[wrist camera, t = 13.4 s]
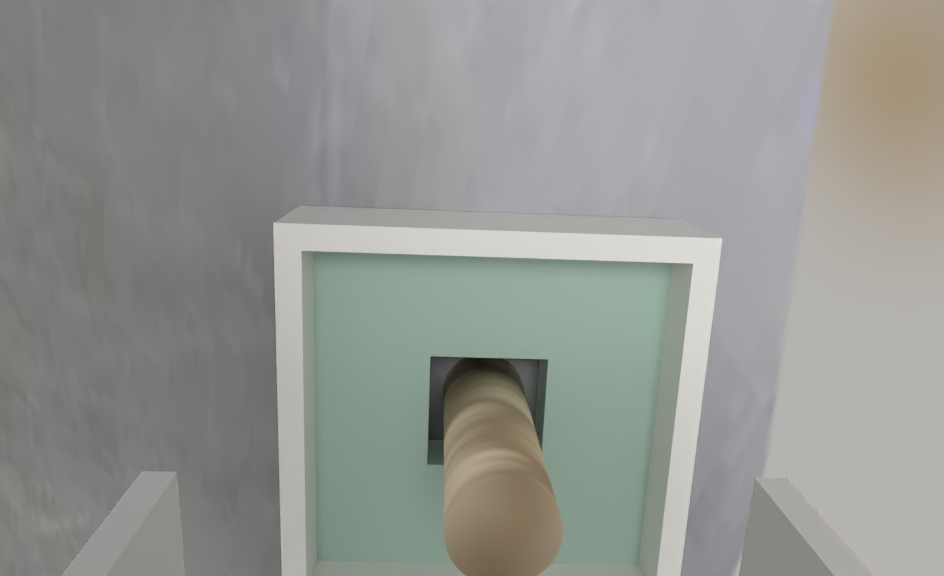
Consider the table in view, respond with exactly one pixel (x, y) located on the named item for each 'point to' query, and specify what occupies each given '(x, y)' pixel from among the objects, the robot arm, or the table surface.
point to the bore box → (487, 336)
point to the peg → (495, 475)
